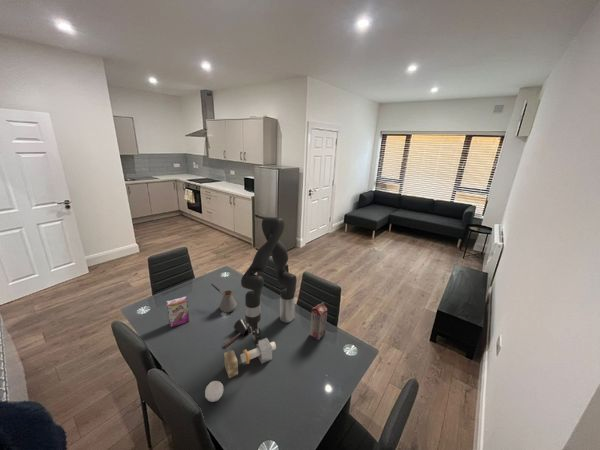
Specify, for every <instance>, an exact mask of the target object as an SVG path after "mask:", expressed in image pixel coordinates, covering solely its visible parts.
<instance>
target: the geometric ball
mask: <svg viewBox="0 0 600 450" xmlns="http://www.w3.org/2000/svg"><path fill="white" fill-rule="evenodd" d="M204 393H205V394H204V395H205V396H204V397H205V399H206V400H207V401H208V402H211V403H213V402H217V401H219V400H220V399H221V397H222V395H223V393H224V385H223V383H221V381H219V380H213V381H210V382H209V384H208V385H207V386H206V388H205V391H204Z"/></svg>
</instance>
